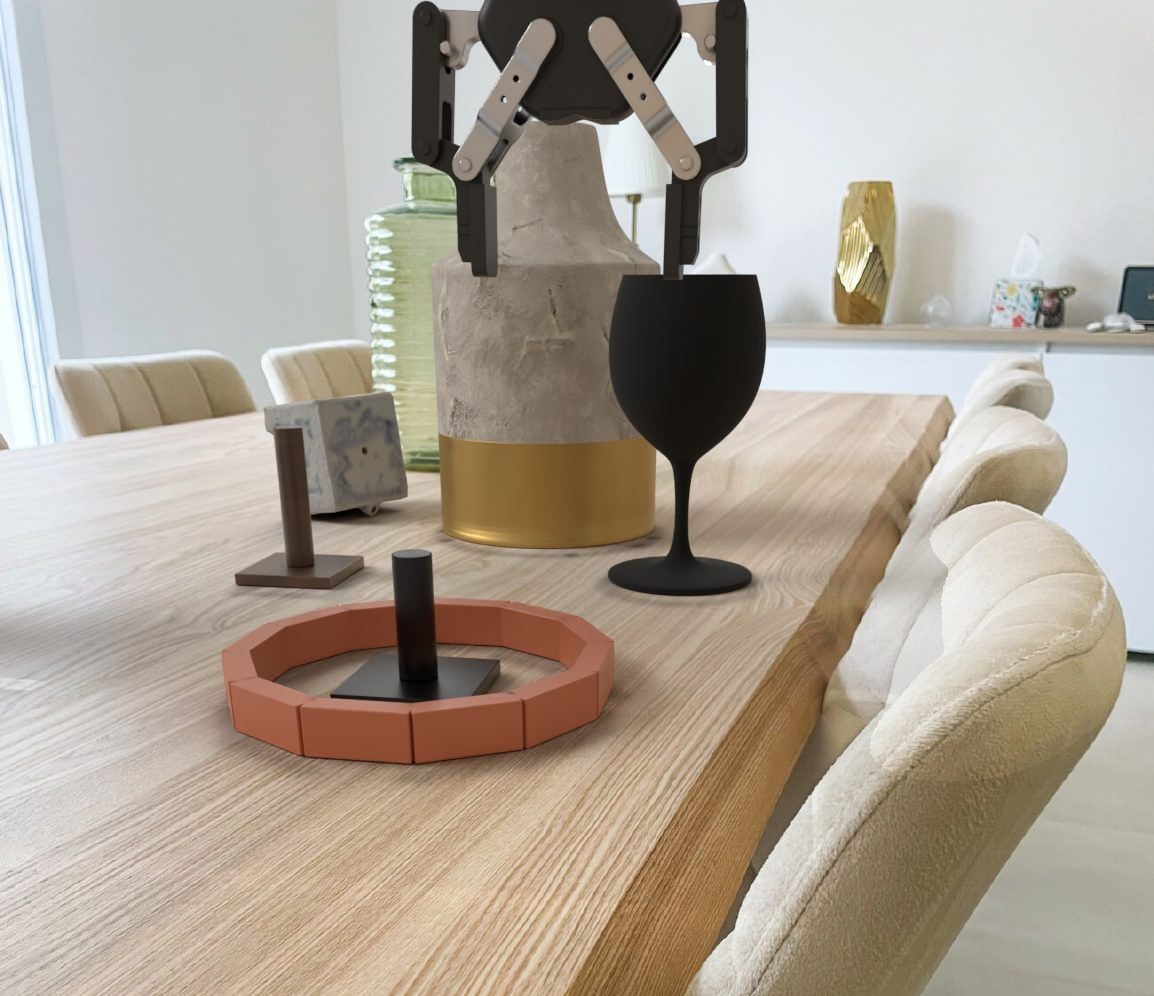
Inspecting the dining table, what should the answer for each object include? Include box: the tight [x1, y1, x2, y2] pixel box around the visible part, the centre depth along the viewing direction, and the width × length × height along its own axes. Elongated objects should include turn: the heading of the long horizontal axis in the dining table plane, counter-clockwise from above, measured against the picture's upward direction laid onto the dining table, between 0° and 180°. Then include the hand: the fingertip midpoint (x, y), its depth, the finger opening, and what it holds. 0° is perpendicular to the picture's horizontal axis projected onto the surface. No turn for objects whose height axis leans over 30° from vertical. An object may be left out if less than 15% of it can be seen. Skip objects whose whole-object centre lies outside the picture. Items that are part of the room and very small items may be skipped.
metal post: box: [329, 548, 501, 703], centre depth 59 cm, size 7×7×7 cm
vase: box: [430, 120, 662, 549], centre depth 94 cm, size 18×18×30 cm
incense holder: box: [262, 391, 409, 517], centre depth 104 cm, size 10×8×10 cm
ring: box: [220, 596, 615, 765], centre depth 59 cm, size 19×19×2 cm
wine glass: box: [607, 273, 767, 596], centre depth 79 cm, size 10×10×20 cm
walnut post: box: [234, 425, 365, 590], centre depth 81 cm, size 7×7×10 cm
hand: (578, 278), depth 51 cm, fingers open, 8 cm apart
